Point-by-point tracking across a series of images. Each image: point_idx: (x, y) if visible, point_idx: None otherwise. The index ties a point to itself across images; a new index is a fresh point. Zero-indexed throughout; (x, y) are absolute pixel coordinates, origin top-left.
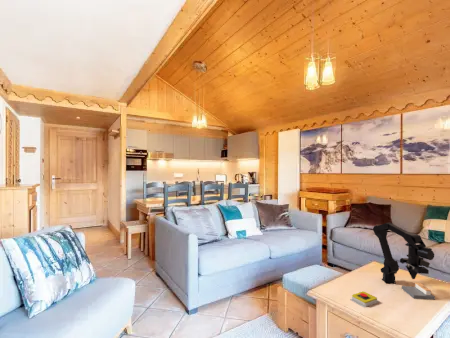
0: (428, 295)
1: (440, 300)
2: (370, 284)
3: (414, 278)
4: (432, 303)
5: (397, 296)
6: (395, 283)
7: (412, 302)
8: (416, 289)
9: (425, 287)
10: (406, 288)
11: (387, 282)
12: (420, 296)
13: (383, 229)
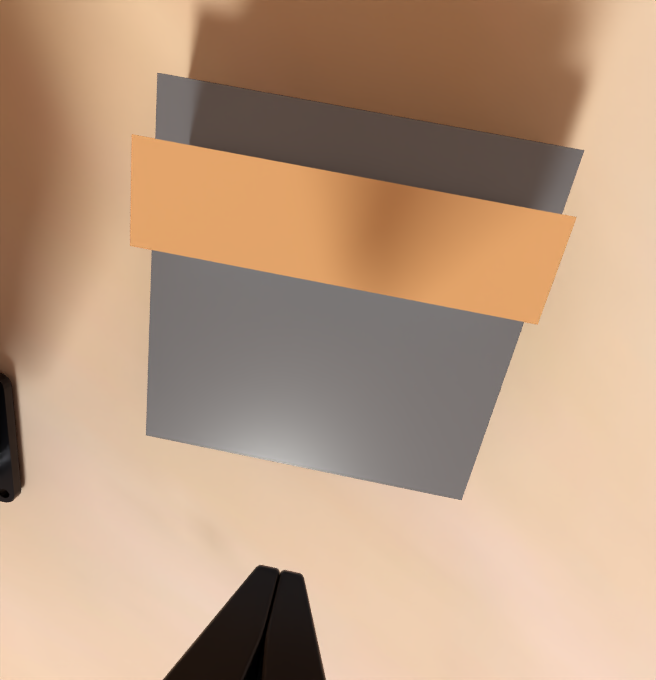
0: None
1: (600, 46)
2: (86, 668)
3: (307, 610)
4: (639, 315)
5: (375, 608)
6: (7, 386)
7: (538, 559)
8: (271, 286)
9: (410, 217)
10: (236, 434)
11: (2, 482)
12: (488, 402)
13: None
